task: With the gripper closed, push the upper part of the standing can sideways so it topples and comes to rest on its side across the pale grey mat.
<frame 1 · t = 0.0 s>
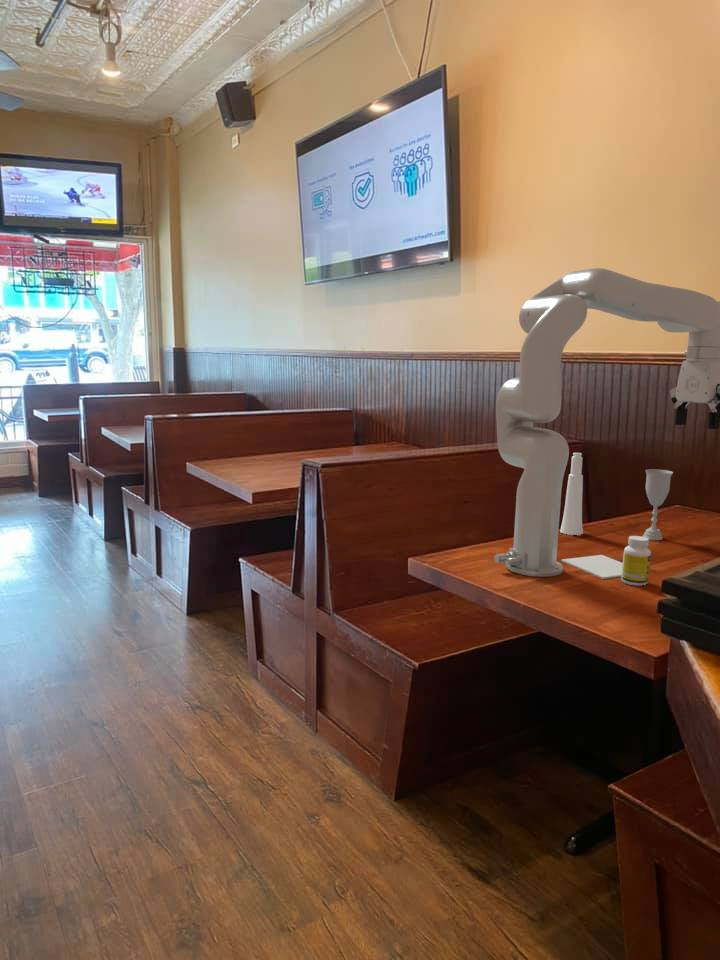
hand: (696, 426, 169), 31 cm above the table, tool pointing down, fingers open, 9 cm apart
chalice: (652, 538, 187), on the table
cosmetic bottle: (571, 533, 190), on the table
supplement bottle: (634, 583, 149), on the table
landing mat: (602, 567, 160), on the table
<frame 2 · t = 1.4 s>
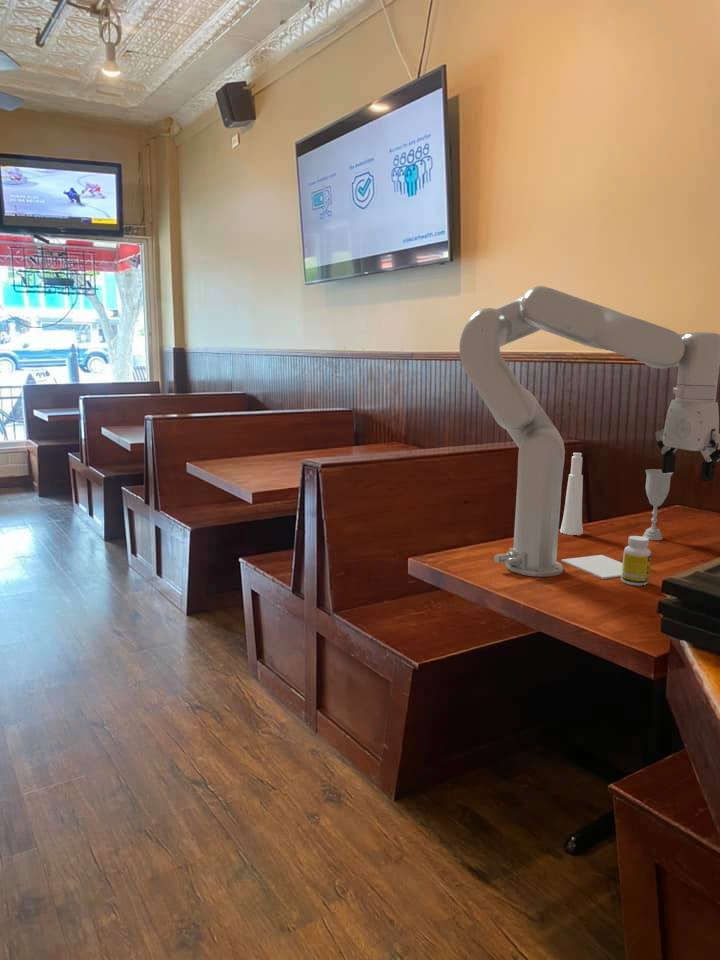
hand: (686, 476, 146), 23 cm above the table, tool pointing down, fingers open, 9 cm apart
nothing on the table moved.
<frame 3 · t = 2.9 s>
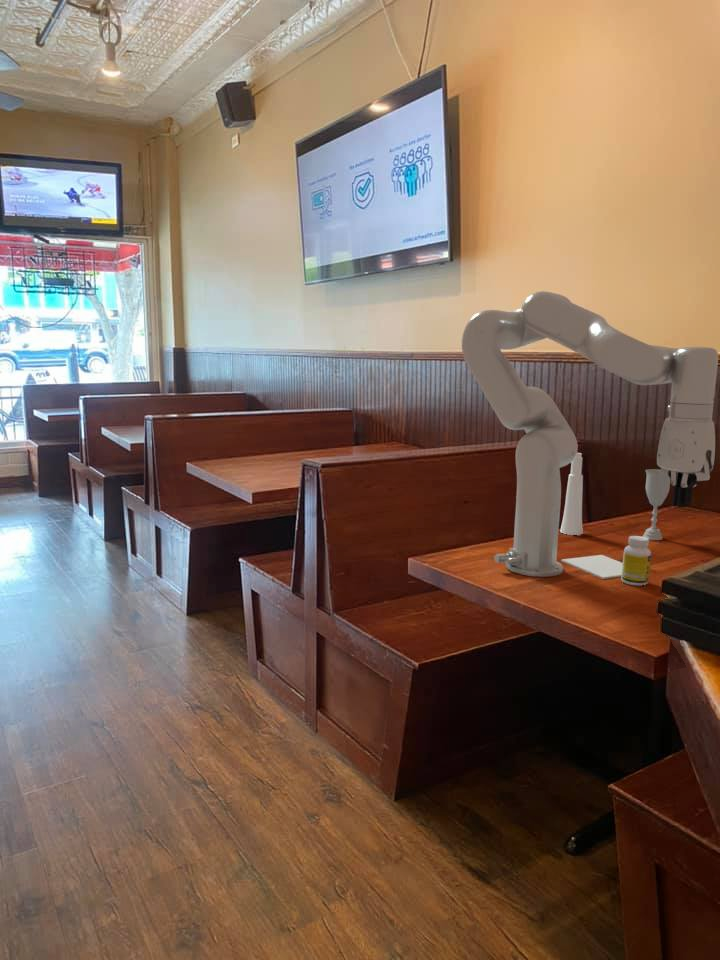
hand: (681, 506, 137), 19 cm above the table, tool pointing down, fingers closed
nothing on the table moved.
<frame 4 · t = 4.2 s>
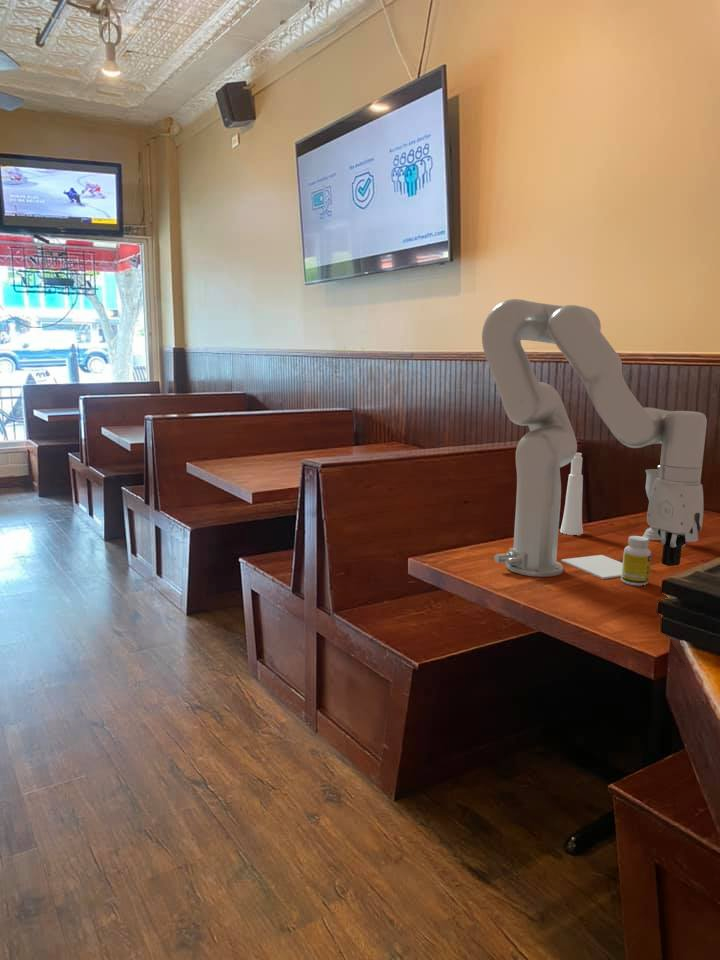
hand: (670, 564, 140), 7 cm above the table, tool pointing down, fingers closed
nothing on the table moved.
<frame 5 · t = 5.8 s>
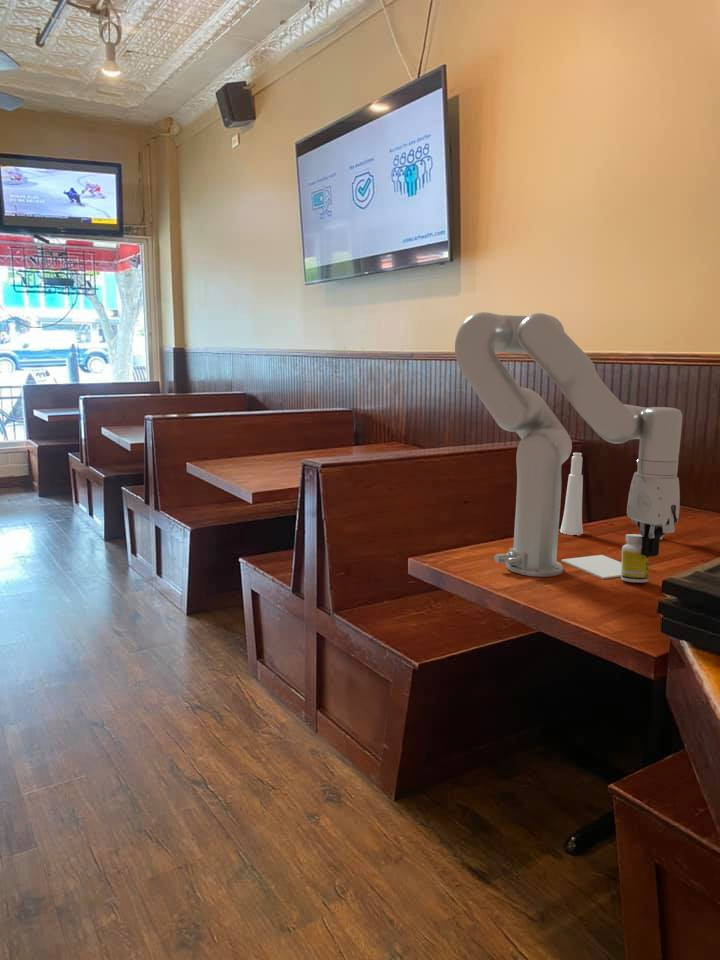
hand: (649, 555, 145), 7 cm above the table, tool pointing down, fingers closed
supplement bottle: (634, 581, 149), on the table, touching gripper
everything else where it was.
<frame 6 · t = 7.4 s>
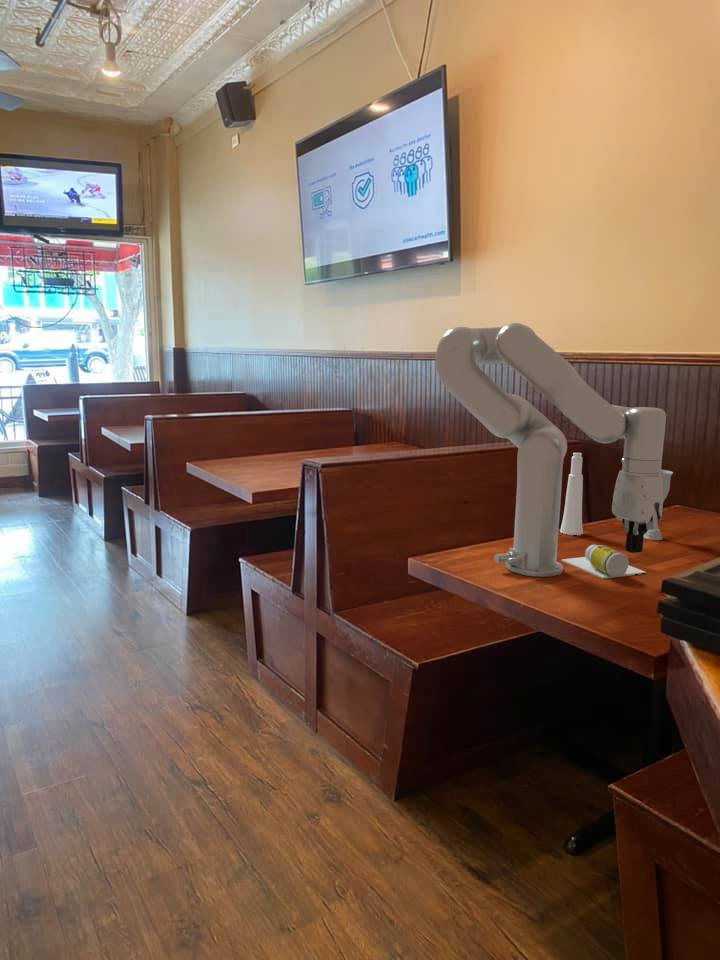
hand: (633, 551, 149), 7 cm above the table, tool pointing down, fingers closed
supplement bottle: (619, 565, 150), point 3 cm above the table, touching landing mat
everything else where it was.
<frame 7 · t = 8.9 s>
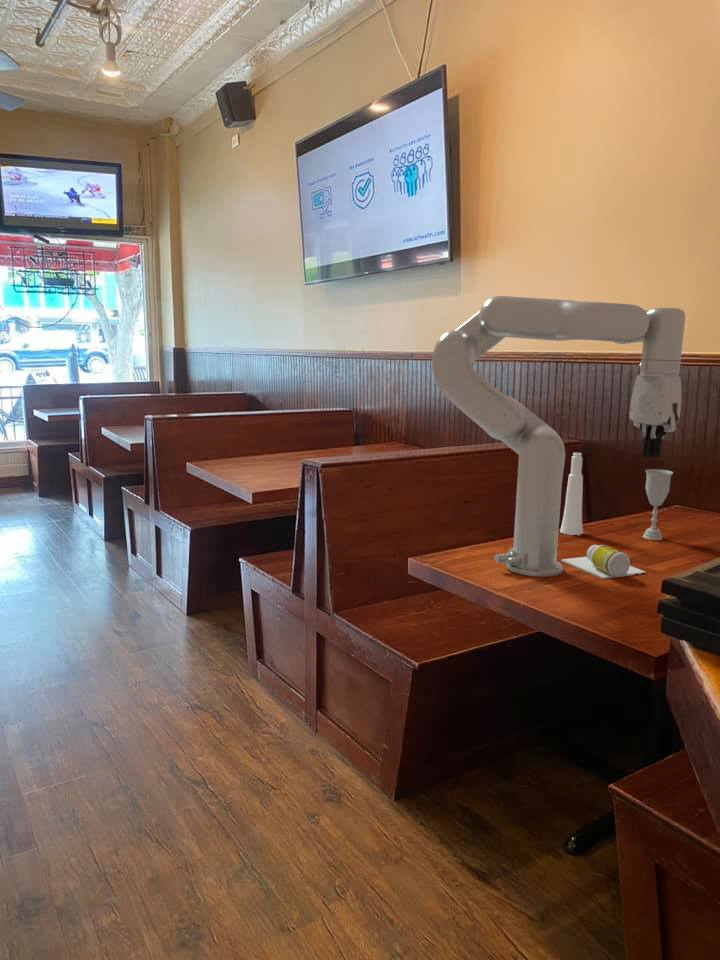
hand: (650, 456, 148), 27 cm above the table, tool pointing down, fingers closed
nothing on the table moved.
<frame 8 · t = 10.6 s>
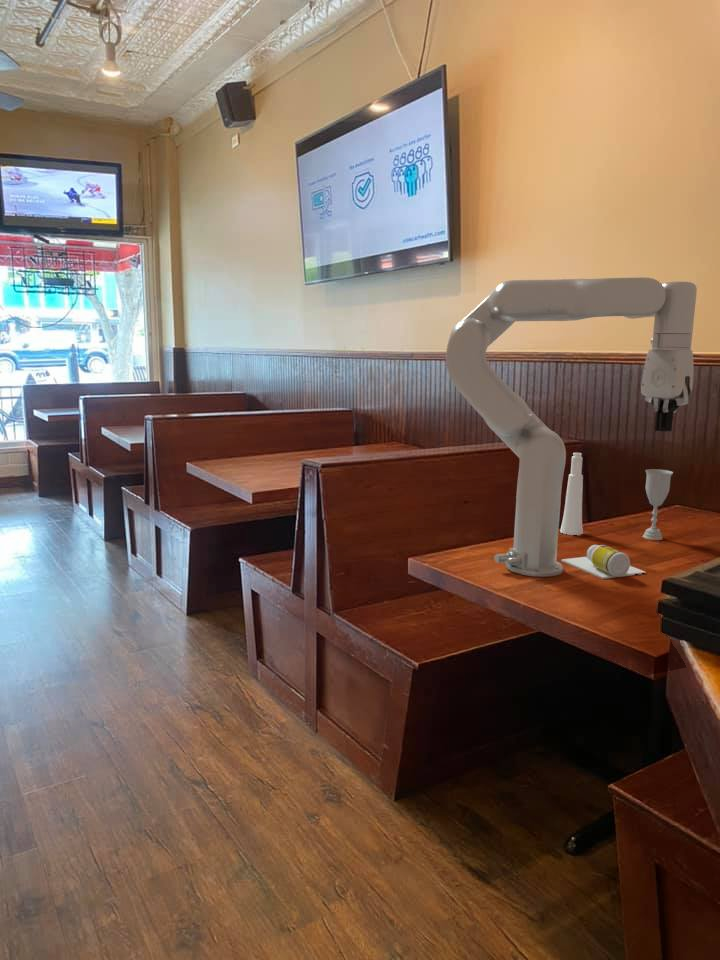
hand: (663, 430, 149), 32 cm above the table, tool pointing down, fingers closed
nothing on the table moved.
at the end: supplement bottle tilted 90°; supplement bottle 8.8 cm from the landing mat (horizontally); the gripper is holding nothing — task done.
